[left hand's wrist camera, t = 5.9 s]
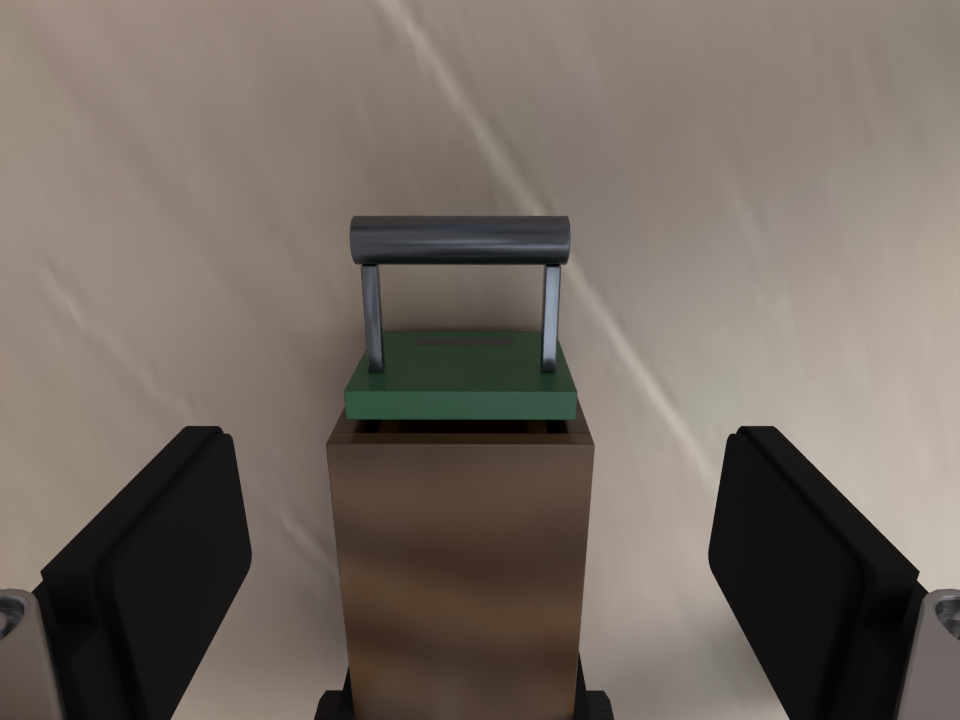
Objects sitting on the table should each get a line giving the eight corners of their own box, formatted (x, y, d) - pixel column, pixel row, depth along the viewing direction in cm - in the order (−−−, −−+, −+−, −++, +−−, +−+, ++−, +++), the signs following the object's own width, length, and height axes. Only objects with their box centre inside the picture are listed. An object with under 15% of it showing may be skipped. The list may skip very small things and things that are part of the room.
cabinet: (368, 357, 30) (325, 444, 22) (563, 357, 30) (595, 444, 22) (389, 650, 37) (362, 801, 29) (547, 650, 37) (567, 801, 29)
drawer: (367, 201, 27) (328, 224, 20) (562, 201, 27) (588, 224, 20) (394, 626, 35) (374, 740, 29) (541, 626, 35) (555, 741, 29)
